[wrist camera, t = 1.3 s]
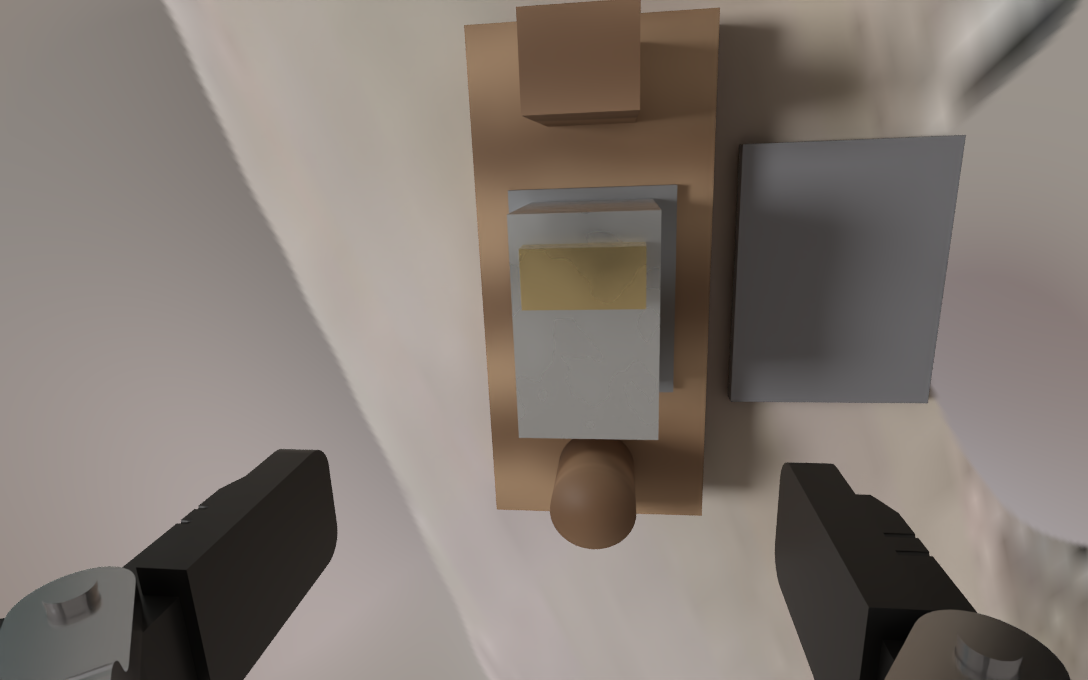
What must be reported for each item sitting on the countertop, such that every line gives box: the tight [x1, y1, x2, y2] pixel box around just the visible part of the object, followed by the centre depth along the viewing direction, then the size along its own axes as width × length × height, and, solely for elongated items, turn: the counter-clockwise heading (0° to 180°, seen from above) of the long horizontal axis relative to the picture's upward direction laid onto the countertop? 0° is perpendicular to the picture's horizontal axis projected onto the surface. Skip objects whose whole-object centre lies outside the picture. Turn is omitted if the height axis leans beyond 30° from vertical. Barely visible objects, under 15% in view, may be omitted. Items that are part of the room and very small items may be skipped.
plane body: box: [464, 0, 720, 549], centre depth 25 cm, size 22×10×10 cm, turn 2°
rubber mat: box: [728, 135, 966, 403], centre depth 28 cm, size 12×9×1 cm
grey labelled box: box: [507, 198, 661, 440], centre depth 24 cm, size 8×5×7 cm, turn 2°
